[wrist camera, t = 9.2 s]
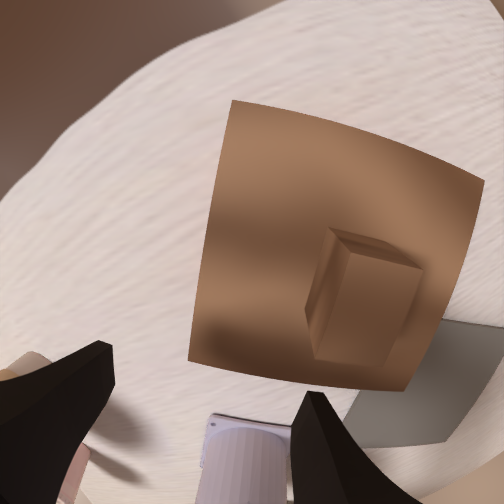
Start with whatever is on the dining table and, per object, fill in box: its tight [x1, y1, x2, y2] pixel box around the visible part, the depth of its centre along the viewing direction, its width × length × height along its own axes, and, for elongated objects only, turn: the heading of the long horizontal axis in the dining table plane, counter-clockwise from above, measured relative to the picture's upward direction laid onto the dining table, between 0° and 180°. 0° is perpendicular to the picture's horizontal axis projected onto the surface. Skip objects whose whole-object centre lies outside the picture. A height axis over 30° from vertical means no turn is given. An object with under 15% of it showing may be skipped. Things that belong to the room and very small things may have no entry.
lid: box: [188, 100, 485, 392], centre depth 12 cm, size 13×13×5 cm
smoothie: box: [56, 442, 91, 504], centre depth 20 cm, size 6×6×14 cm
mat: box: [342, 319, 504, 448], centre depth 21 cm, size 15×15×1 cm
